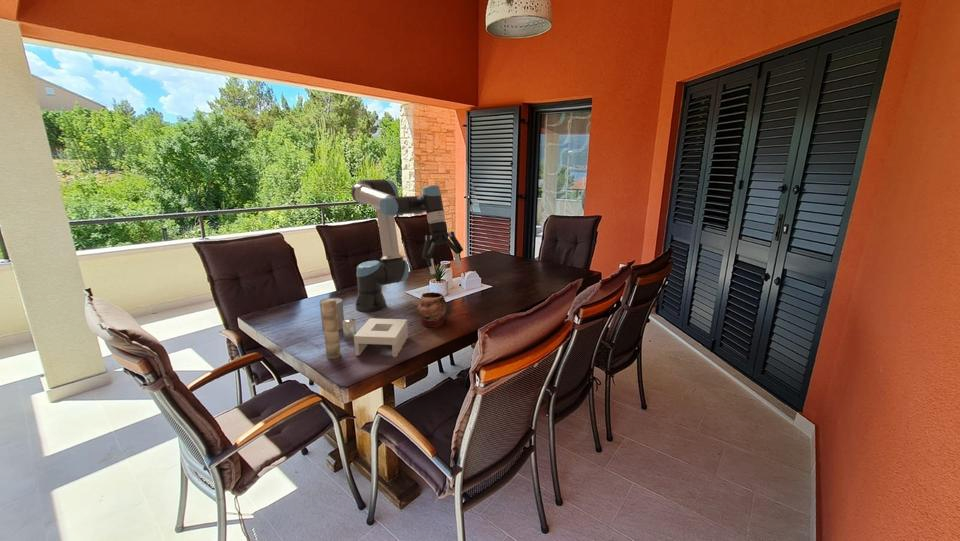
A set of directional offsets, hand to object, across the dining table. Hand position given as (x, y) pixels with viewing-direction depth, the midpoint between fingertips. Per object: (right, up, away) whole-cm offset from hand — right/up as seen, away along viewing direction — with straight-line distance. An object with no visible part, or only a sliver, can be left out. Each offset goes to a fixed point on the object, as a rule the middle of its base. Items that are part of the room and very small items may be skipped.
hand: (446, 271), depth 164 cm
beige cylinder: (-52, -25, +8) cm, 58 cm away
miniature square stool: (-25, -30, -10) cm, 40 cm away
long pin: (-41, -32, -19) cm, 56 cm away
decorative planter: (-7, -24, +14) cm, 29 cm away
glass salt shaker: (-40, -28, -3) cm, 49 cm away
